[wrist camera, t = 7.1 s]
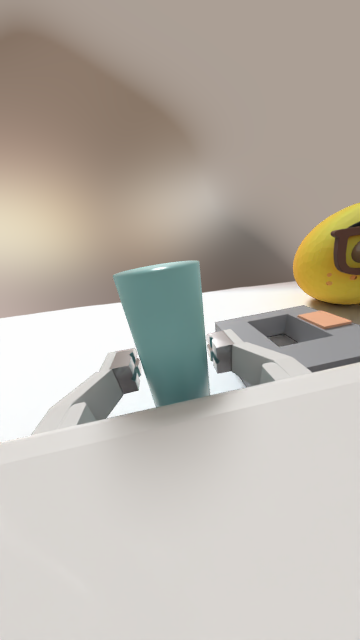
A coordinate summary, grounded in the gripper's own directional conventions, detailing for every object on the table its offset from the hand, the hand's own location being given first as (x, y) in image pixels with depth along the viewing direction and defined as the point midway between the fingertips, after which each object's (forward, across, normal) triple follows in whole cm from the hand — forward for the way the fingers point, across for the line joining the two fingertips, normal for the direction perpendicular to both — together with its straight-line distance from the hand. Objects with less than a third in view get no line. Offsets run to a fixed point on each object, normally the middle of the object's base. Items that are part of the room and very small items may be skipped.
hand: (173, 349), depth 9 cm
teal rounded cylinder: (-1, 0, +7) cm, 7 cm away
